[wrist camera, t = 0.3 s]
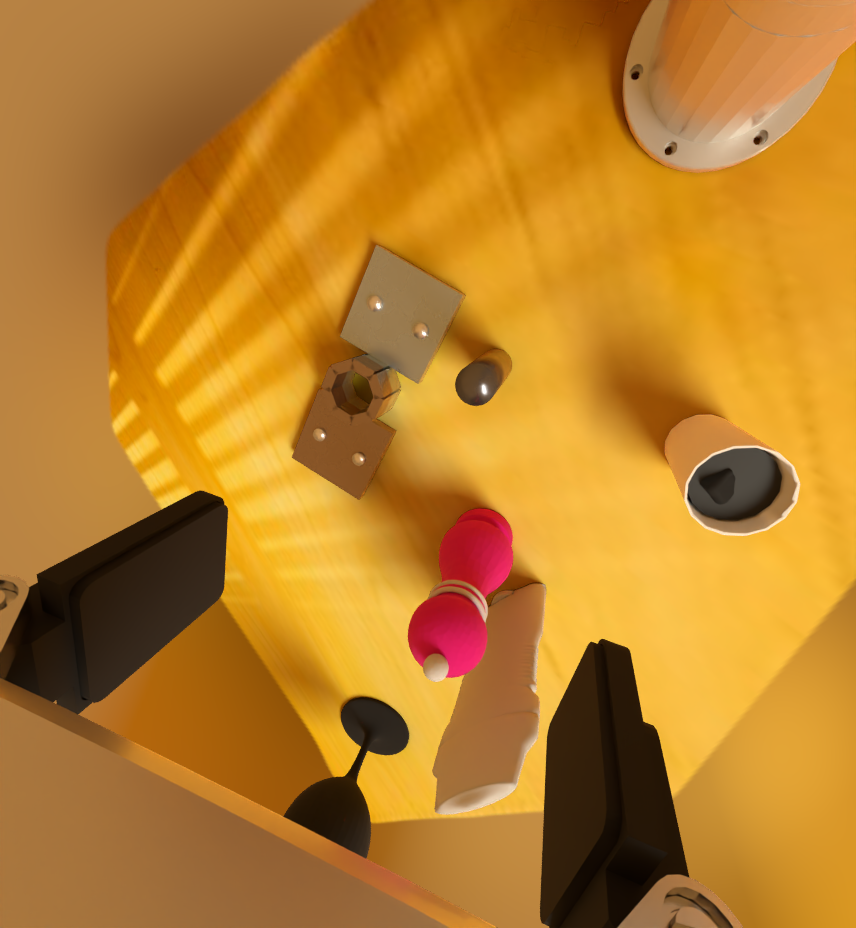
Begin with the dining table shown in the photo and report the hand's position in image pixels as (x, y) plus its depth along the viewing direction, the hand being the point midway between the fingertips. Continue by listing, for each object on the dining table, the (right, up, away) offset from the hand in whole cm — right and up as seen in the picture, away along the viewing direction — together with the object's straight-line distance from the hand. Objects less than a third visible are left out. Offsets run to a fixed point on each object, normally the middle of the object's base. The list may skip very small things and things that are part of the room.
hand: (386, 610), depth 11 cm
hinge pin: (+7, +13, +31) cm, 34 cm away
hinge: (-5, +12, +35) cm, 37 cm away
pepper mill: (+7, -4, +37) cm, 38 cm away
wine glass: (-6, -34, +53) cm, 63 cm away
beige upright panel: (+10, -12, +40) cm, 43 cm away
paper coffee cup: (+25, +5, +28) cm, 38 cm away
